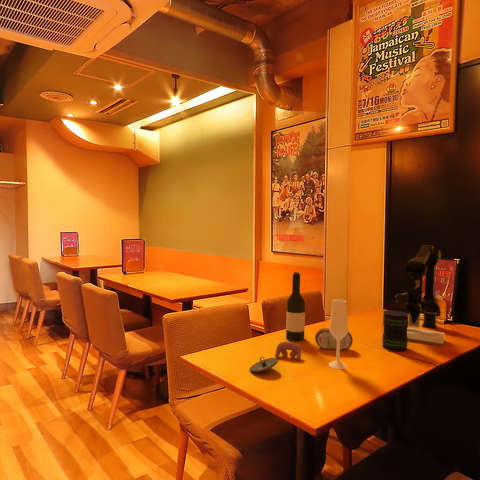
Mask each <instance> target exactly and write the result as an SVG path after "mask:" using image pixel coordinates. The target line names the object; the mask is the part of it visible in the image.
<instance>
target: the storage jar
mask: <svg viewBox="0 0 480 480" xmlns="http://www.w3.org/2000/svg"><path fill="white" fill-rule="evenodd" d="M382 324H383V325H382V326H383V333H382V345H381V346H382V349H384V350H385V351H386V350H387V351H391V352H394V353H396V352H397V353H403V352H406V351H408V341H409V340H408V337H407V328H409V313H408V312H406V311H402V310H395V309H394V310H393V309H388V310H384V311H383V317H382Z"/></svg>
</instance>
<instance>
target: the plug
mask: <svg viewBox="0 0 480 480" xmlns="http://www.w3.org/2000/svg"><path fill="white" fill-rule="evenodd" d="M408 312H409V311H408ZM420 318H421V314H419V316H418V318H417V320H416V322H415V323H412V319H411V314H410V312H409V313H408V327H413V328H419V326H420V322H421V319H420Z"/></svg>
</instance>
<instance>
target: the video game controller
mask: <svg viewBox="0 0 480 480" xmlns="http://www.w3.org/2000/svg"><path fill="white" fill-rule="evenodd" d="M288 351H290V352H289V353H288ZM274 354H275V356H274V358H276V359H279V356H280V354H281V355H282V356H283V357H288V354H289V357H291V358H293V359H294V358H295V357H296V361H297V362H300V360H301V357H302V356H301V355H302V346H300V345H299V344H298V343H296V342H294V341H281V342H279V343H278V344H277V346H276V349H275V353H274Z"/></svg>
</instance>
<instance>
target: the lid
mask: <svg viewBox="0 0 480 480" xmlns="http://www.w3.org/2000/svg"><path fill="white" fill-rule="evenodd" d="M262 358H263V359H262ZM278 362H279V358H275V357H270V358H265V357H264V356H261V357H259V361H258V362H255V363H254V364H253V365H251V367H250V368H249V371H250V372H251V373H261V372H265V371H268V370H271V369H272V368H273V367H275V366H276V365H277V364H278Z"/></svg>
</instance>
